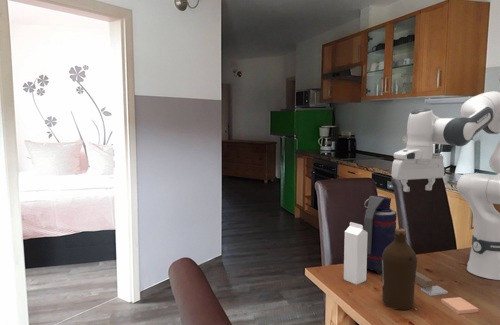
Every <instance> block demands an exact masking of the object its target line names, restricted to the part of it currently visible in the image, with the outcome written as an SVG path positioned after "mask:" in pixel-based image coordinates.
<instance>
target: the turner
mask: <svg viewBox="0 0 500 325" xmlns="http://www.w3.org/2000/svg"><path fill="white" fill-rule="evenodd" d="M415 284H417V285H419V286H421V287H420V290H421V291H422V292H424V293H425V294H426V295H428V296H430V297H431V296H440V295H446V294H447V295H448V293H449V292H448V290H446V289H444V288H443V287H441V286H439V285H433V279H431V278H429V277H427V276H426V275H424V274H422V273H421V272H418V271H417V270H416V277H415Z"/></svg>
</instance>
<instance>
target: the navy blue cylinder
mask: <svg viewBox="0 0 500 325" xmlns="http://www.w3.org/2000/svg"><path fill="white" fill-rule="evenodd" d="M391 201H392V198H391V197H387V196H382V195H369V198H368V199H366V200H365V201H364V208H366V209H365V211H364V218H363V221H364V222H363V230H365V231H366V232H368V234H367V269H368V270H371V271H374V272H376V274H378V275H382V254H383V252H384V249H385V248H386V247H387V246H388V245H389V244H391V243H392V242H393V241H394V240H395V229H397V211H395V210H394V209H393V210H392V208H391ZM367 202H368V204H367V206H366V203H367Z"/></svg>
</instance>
